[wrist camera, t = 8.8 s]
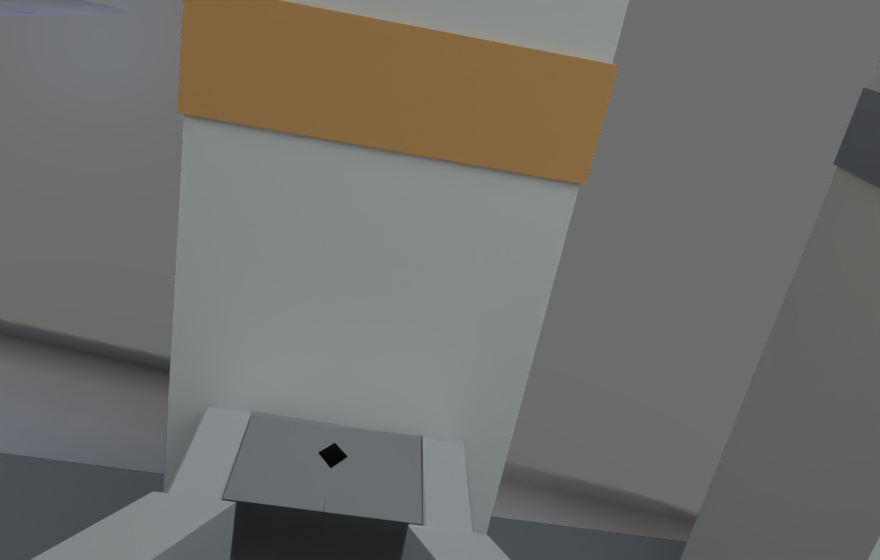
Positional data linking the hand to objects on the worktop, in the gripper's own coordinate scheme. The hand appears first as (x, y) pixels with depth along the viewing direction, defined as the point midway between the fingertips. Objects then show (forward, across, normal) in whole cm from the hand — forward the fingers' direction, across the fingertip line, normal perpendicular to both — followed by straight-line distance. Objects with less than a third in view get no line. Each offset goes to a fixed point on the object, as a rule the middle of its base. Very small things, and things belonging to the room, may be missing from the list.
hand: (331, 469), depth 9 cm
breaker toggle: (+2, 0, +4) cm, 5 cm away
